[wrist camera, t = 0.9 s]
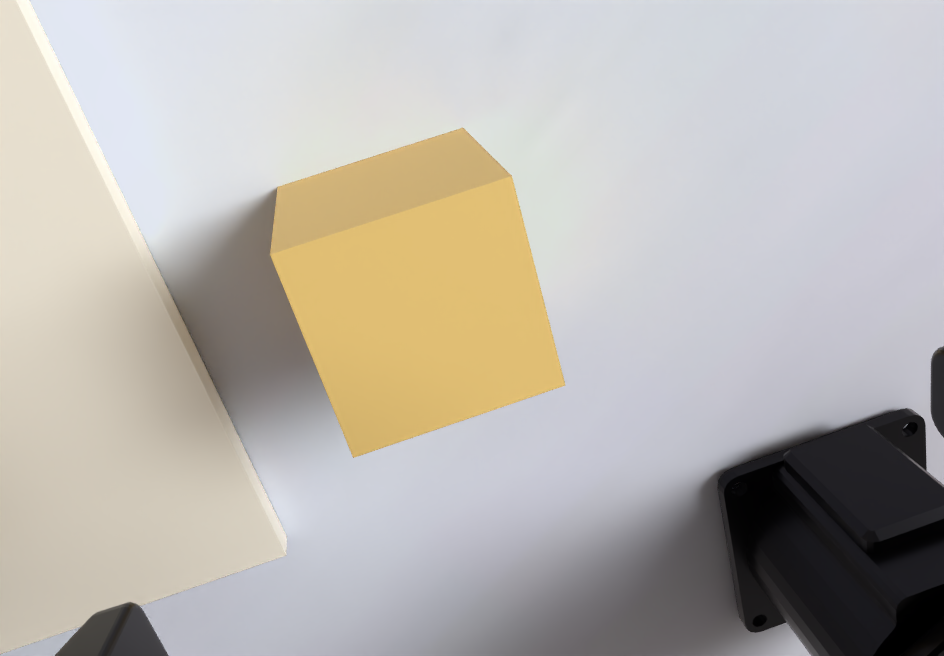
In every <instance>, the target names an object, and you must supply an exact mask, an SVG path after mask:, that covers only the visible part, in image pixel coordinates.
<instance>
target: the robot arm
mask: <svg viewBox="0 0 944 656" xmlns="http://www.w3.org/2000/svg"><path fill="white" fill-rule="evenodd" d="M931 415H932V419H933V421H934V424H935V426H936V428H937V429H938V431H939V432H940V434H941V435H942V436H943V437H944V346H943V347H940V348H938V349H937V350H936V351H935V352H934V354H933V356H932V359H931ZM906 424H908V425H907V426H906V427H905V428H904V426H905V425H906ZM740 482H741V483H740ZM737 483H740V484H739V486H738V487H736V488H734V489H732V488H733V487H734V485H735V484H737ZM718 492H719V498H720V504H721V510H722V516H723V522H724V528H725V534H726V540H727V545H728V551H729V557H730V563H731V569H732V575H733V581H734V587H735V593H736V599H737V605H738V611H739V617H740V619H741V621H742V622H743V624H744V625H745V627H746V628H747V630H749V631H750V632H755V633H756V632H761V631H764V630H767V629H769V628H772V627H775V626H778V625H780V624H783V623H786V622H787V623H788V625H789V626H790V627H791V629H792V630H793V631H794V633H795V634H796V635H797V637H798V638H799V640H800V641H801V642H802V644H803V645H804V646H805V648H806V649H807V650H808V652H809V653H810V654H811V656H944V485H943V484H942V483H941V482H939V481H938V480H937V479H936V478H934V477H933V476H932V475H931V474H929V473H928V472H927V471H926V432H925V421H924V419H923V418H922V417H921V416H920V415H918V414H917V413H916V412H914V411H913V410H911V409H907V408H905V409H900V410H897V411H894V412H892V413H889V414H886V415H883V416H880V417H877V418H874V419H872V420H869V421H866V422H863V423H860V424H857V425H855V426H852V427H849V428H846V429H843V430H840V431H837V432H835V433H832V434H829V435H826V436H823V437H820V438H817V439H815V440H812V441H809V442H806V443H803V444H800V445H797V446H795V447H792V448H789V449H786V450H783V451H780V452H777V453H775V454H772V455H769V456H766V457H763V458H760V459H758V460H755V461H752V462H749V463H746V464H743V465H740V466H738V467H735V468H732V469H730V470H728V471H726V472H725V473H724V474H723V475H722V476H721V477H720V479H719V481H718ZM55 656H168V654H167V652H166V650H165V649H164V647H163V645H162V643H161V641H160V640H159V638H158V636H157V634H156V633H155V631H154V629H153V627H152V625H151V624H150V622H149V620H148V618H147V616H146V615H145V613H144V611H143V610H142V608H141V607H140V606H139V605H138V604H136V603H132V602H127V603H124V604H121V605H117V606H114V607H111V608H108V609H105V610H101V611H99V612H96V613H95V614H93V615H92V616H91V617H90V618H89V619H88V620H87V621H86V622H85V623H84V624H83V625H82V627H81V628H80V629H79V630H78V631H77V632H76V633H75V634H74V635H73V636H72V637H71V639H70V640H69V641H68V642H67V643H66V644H65V645H64V646H63V647H62V648H61V649H60V650H59V652H58V653H57V654H56V655H55Z"/></svg>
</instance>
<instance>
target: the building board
mask: <svg viewBox="0 0 944 656" xmlns="http://www.w3.org/2000/svg"><path fill="white" fill-rule="evenodd" d="M286 549H287V536H286V534H285V532H284V530H283V528H282V526H281V524H280V521H279V519H278V517H277V515H276V513H275V511H274V509H273V507H272V505H271V503H270V501H269V499H268V496H267V494H266V492H265V490H264V488H263V486H262V484H261V482H260V480H259V478H258V476H257V474H256V471H255V469H254V467H253V465H252V463H251V461H250V459H249V457H248V455H247V453H246V451H245V449H244V446H243V444H242V442H241V440H240V438H239V436H238V434H237V432H236V430H235V428H234V426H233V424H232V421H231V419H230V417H229V415H228V413H227V411H226V409H225V407H224V405H223V403H222V401H221V399H220V396H219V394H218V392H217V390H216V388H215V386H214V384H213V382H212V380H211V378H210V376H209V374H208V371H207V369H206V367H205V365H204V363H203V361H202V359H201V357H200V355H199V353H198V351H197V349H196V346H195V344H194V342H193V340H192V338H191V336H190V334H189V332H188V330H187V328H186V326H185V324H184V321H183V319H182V317H181V315H180V313H179V311H178V309H177V307H176V305H175V303H174V301H173V299H172V296H171V294H170V292H169V290H168V288H167V286H166V284H165V282H164V280H163V278H162V276H161V274H160V272H159V269H158V267H157V265H156V263H155V261H154V259H153V257H152V255H151V253H150V251H149V249H148V247H147V244H146V242H145V240H144V238H143V236H142V234H141V232H140V230H139V228H138V226H137V224H136V222H135V219H134V217H133V215H132V213H131V211H130V209H129V207H128V205H127V203H126V201H125V199H124V197H123V194H122V192H121V190H120V188H119V186H118V184H117V182H116V180H115V178H114V176H113V174H112V172H111V169H110V167H109V165H108V163H107V161H106V159H105V157H104V155H103V153H102V151H101V149H100V147H99V144H98V142H97V140H96V138H95V136H94V134H93V132H92V130H91V128H90V126H89V124H88V122H87V119H86V117H85V115H84V113H83V111H82V109H81V107H80V105H79V103H78V101H77V99H76V97H75V94H74V92H73V90H72V88H71V86H70V84H69V82H68V80H67V78H66V76H65V74H64V72H63V69H62V67H61V65H60V63H59V61H58V59H57V57H56V55H55V53H54V51H53V49H52V47H51V44H50V42H49V40H48V38H47V36H46V34H45V32H44V30H43V28H42V26H41V24H40V22H39V19H38V17H37V15H36V13H35V11H34V9H33V7H32V5H31V3H30V1H29V0H0V654H3V653H6V652H9V651H11V650H14V649H17V648H20V647H23V646H26V645H29V644H32V643H35V642H37V641H40V640H43V639H46V638H49V637H52V636H55V635H58V634H61V633H63V632H66V631H69V630H72V629H75V628H78V627H81V626H82V625H83V624H84V623H85V622H86V621H87V620H88V619H89V618H90V617H91V616H92V615H93V614H95V613H96V612H99V611H101V610H105V609H108V608H111V607H114V606H117V605H121V604H124V603H127V602H132V603H136V604H138V605H139V606H142V605H145V604H147V603H150V602H153V601H156V600H159V599H162V598H165V597H168V596H171V595H173V594H176V593H179V592H182V591H185V590H188V589H191V588H194V587H197V586H199V585H202V584H205V583H208V582H211V581H214V580H217V579H220V578H223V577H226V576H228V575H231V574H234V573H237V572H240V571H243V570H246V569H249V568H252V567H254V566H257V565H260V564H263V563H266V562H269V561H272V560H275V559H278V558H281V557H283V556H286Z"/></svg>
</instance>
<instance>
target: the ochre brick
mask: <svg viewBox="0 0 944 656" xmlns="http://www.w3.org/2000/svg"><path fill="white" fill-rule="evenodd" d="M270 256H271V258H272V261H273V263H274V266H275V268H276V271H277V273H278V275H279V278H280V280H281V283H282V285H283V288H284V290H285V292H286V295H287V297H288V300H289V302H290V305H291V307H292V310H293V312H294V314H295V317H296V319H297V322H298V324H299V327H300V329H301V331H302V334H303V336H304V339H305V341H306V344H307V346H308V349H309V351H310V353H311V356H312V358H313V361H314V363H315V366H316V368H317V370H318V373H319V375H320V378H321V380H322V383H323V385H324V388H325V390H326V392H327V395H328V397H329V400H330V402H331V405H332V407H333V409H334V412H335V414H336V417H337V419H338V422H339V424H340V427H341V429H342V431H343V434H344V436H345V439H346V441H347V444H348V446H349V448H350V451H351V453H352V456H353V458H354V457H357V456H360V455H363V454H366V453H369V452H372V451H375V450H378V449H380V448H383V447H386V446H389V445H392V444H395V443H398V442H401V441H404V440H407V439H410V438H413V437H416V436H419V435H421V434H424V433H427V432H430V431H433V430H436V429H439V428H442V427H445V426H448V425H451V424H454V423H457V422H460V421H463V420H465V419H468V418H471V417H474V416H477V415H480V414H483V413H486V412H489V411H492V410H495V409H498V408H501V407H504V406H506V405H509V404H512V403H515V402H518V401H521V400H524V399H527V398H530V397H533V396H536V395H539V394H542V393H545V392H547V391H550V390H553V389H556V388H559V387H562V386H565V382H564V378H563V374H562V370H561V366H560V363H559V359H558V355H557V351H556V347H555V343H554V339H553V335H552V331H551V327H550V323H549V320H548V316H547V312H546V308H545V304H544V300H543V296H542V292H541V288H540V284H539V281H538V277H537V273H536V269H535V265H534V261H533V257H532V253H531V249H530V245H529V242H528V238H527V234H526V230H525V226H524V222H523V218H522V214H521V210H520V206H519V202H518V199H517V195H516V191H515V187H514V183H513V179H512V176H511V175H510V174H509V173H508V172H507V171H506V170H505V169H504V168H503V167H502V166H501V165H500V164H499V163H498V162H497V161H496V160H495V159H494V158H493V157H492V156H491V155H490V154H489V153H488V152H487V151H486V150H485V149H484V148H483V147H482V146H481V145H480V144H479V143H478V142H477V141H476V140H475V139H474V138H473V137H472V136H471V135H470V134H469V133H468V132H467V131H466V130H465V129H464V128H461V129H458V130H454V131H451V132H448V133H445V134H442V135H439V136H436V137H432V138H429V139H426V140H423V141H420V142H417V143H414V144H411V145H407V146H404V147H401V148H398V149H395V150H392V151H389V152H386V153H382V154H379V155H376V156H373V157H370V158H367V159H364V160H361V161H357V162H354V163H351V164H348V165H345V166H342V167H339V168H336V169H332V170H329V171H326V172H323V173H320V174H317V175H314V176H310V177H307V178H304V179H301V180H298V181H295V182H292V183H289V184H285V185H282V186H279V187H278V188H277V197H276V206H275V214H274V223H273V232H272V241H271V250H270Z"/></svg>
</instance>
